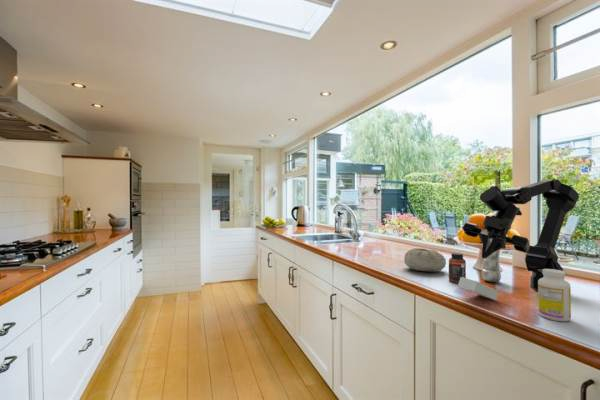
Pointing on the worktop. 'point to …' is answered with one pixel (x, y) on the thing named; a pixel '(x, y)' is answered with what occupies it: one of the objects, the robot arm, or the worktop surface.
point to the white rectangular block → (478, 288)
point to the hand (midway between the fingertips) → (483, 257)
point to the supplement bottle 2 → (554, 296)
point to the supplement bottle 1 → (457, 267)
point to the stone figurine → (491, 267)
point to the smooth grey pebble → (424, 260)
